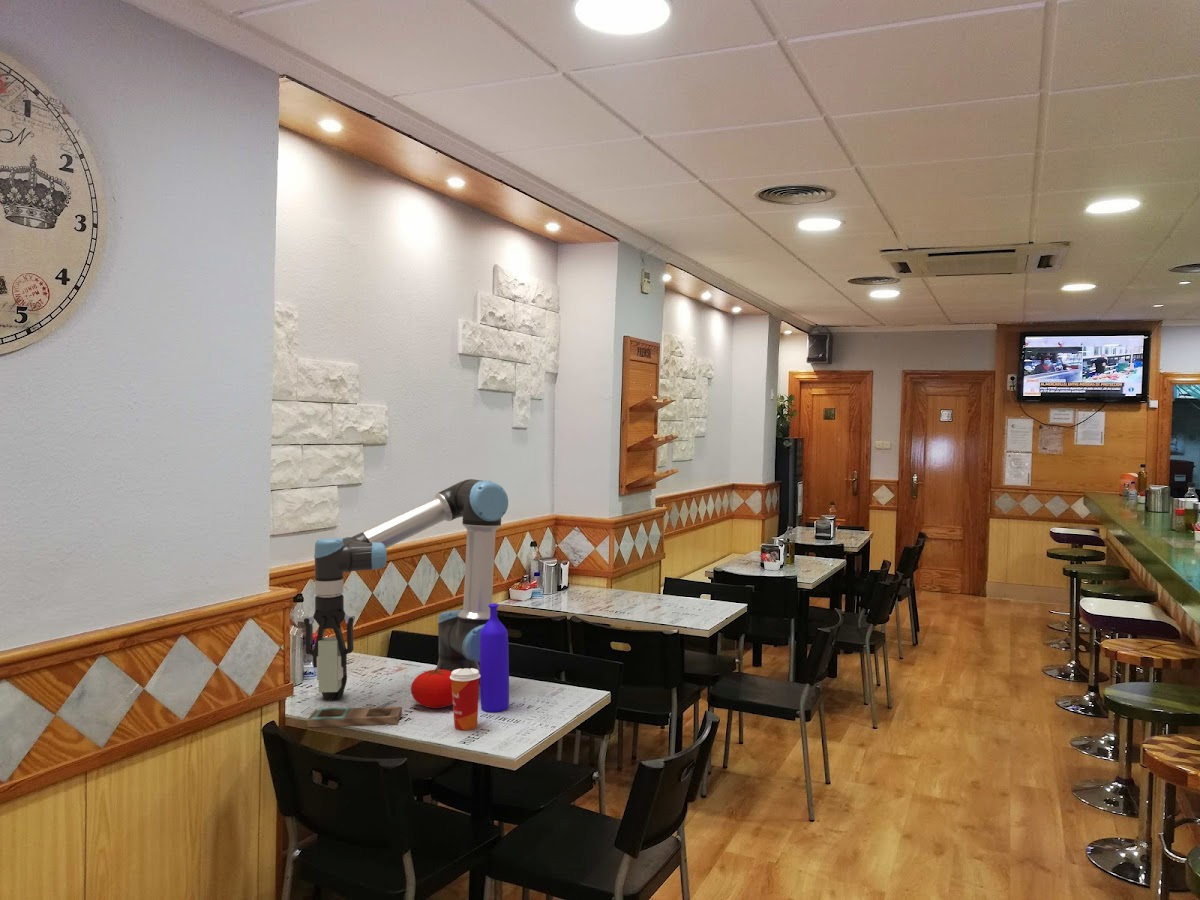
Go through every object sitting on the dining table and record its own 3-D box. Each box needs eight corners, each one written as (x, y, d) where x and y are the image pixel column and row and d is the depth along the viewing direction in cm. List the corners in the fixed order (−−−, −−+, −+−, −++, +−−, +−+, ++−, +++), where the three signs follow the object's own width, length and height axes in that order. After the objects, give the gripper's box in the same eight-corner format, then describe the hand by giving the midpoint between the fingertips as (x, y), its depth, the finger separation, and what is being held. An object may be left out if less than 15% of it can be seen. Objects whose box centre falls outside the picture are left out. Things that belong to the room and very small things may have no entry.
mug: (331, 706, 257) (330, 674, 257) (314, 697, 267) (313, 666, 266) (357, 700, 263) (357, 669, 263) (339, 692, 272) (339, 661, 272)
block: (341, 686, 247) (340, 636, 247) (337, 692, 242) (336, 641, 242) (323, 687, 247) (322, 637, 247) (318, 692, 242) (318, 641, 242)
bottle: (486, 714, 249) (484, 608, 248) (476, 706, 257) (474, 603, 256) (513, 709, 253) (512, 605, 252) (503, 701, 260) (501, 600, 260)
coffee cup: (451, 722, 243) (450, 667, 243) (481, 720, 244) (481, 666, 244) (449, 732, 235) (448, 676, 234) (480, 731, 236) (479, 675, 235)
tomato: (467, 700, 263) (467, 665, 262) (451, 714, 250) (451, 677, 250) (422, 697, 265) (422, 663, 265) (404, 711, 253) (404, 675, 253)
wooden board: (402, 713, 251) (401, 705, 251) (396, 724, 242) (396, 716, 242) (315, 716, 249) (315, 708, 249) (307, 727, 240) (307, 718, 240)
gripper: (365, 591, 248) (366, 674, 249) (299, 592, 247) (300, 675, 248) (359, 596, 241) (360, 681, 241) (292, 597, 240) (292, 683, 240)
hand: (330, 678), depth 245 cm, fingers closed on block, 5 cm apart
